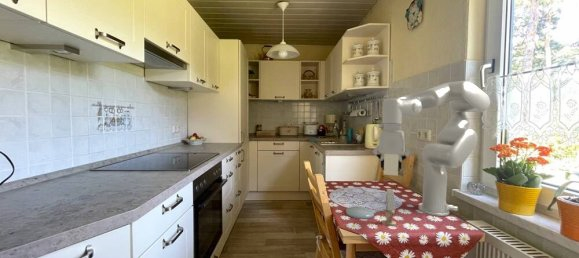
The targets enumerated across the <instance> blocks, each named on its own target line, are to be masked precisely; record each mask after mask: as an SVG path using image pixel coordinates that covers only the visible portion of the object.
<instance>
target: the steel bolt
mask: <svg viewBox="0 0 579 258" xmlns="http://www.w3.org/2000/svg"><path fill="white" fill-rule="evenodd" d="M386 194H387V210H391V211H394V212H395V211H396V199H395V191H394V189H391V190H387V189H386Z"/></svg>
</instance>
